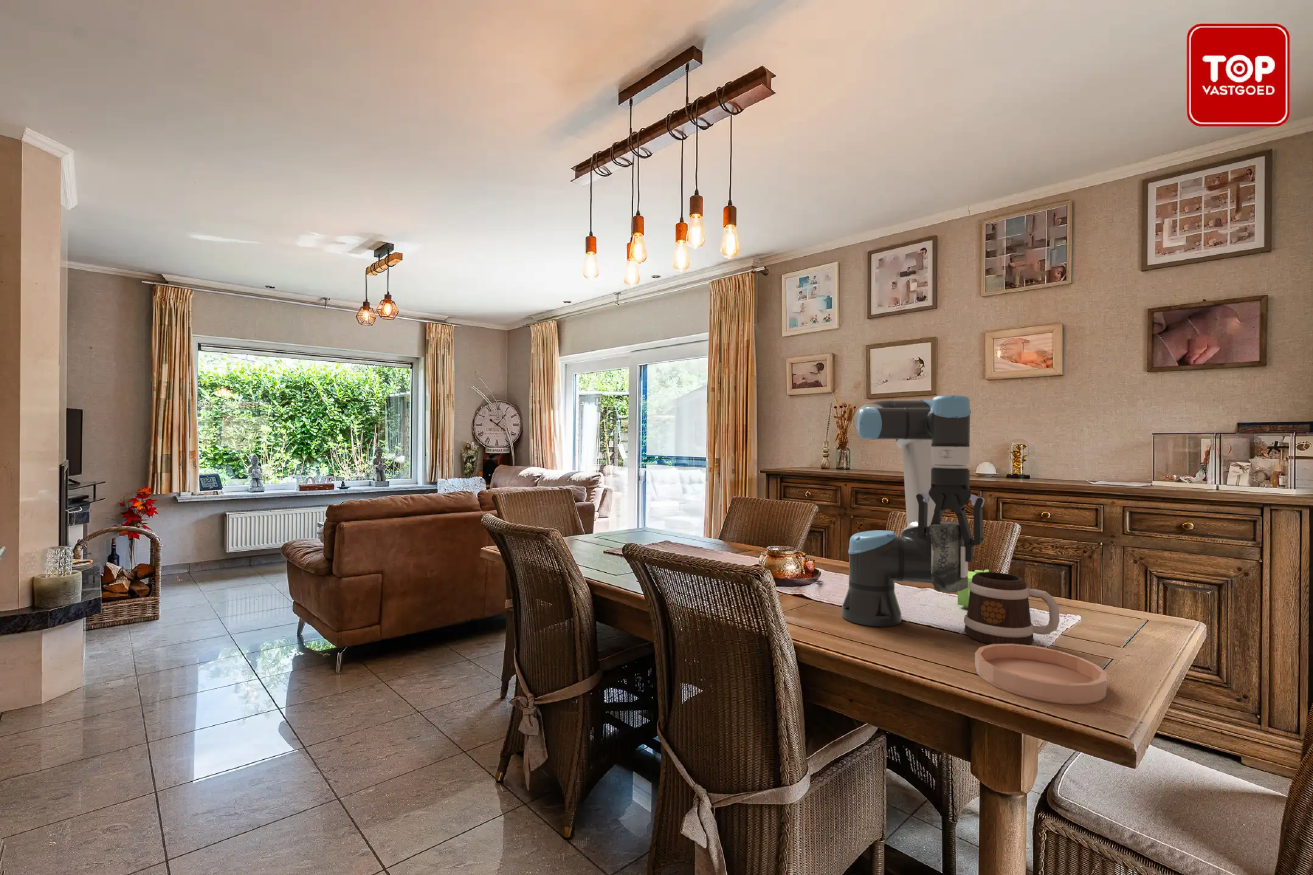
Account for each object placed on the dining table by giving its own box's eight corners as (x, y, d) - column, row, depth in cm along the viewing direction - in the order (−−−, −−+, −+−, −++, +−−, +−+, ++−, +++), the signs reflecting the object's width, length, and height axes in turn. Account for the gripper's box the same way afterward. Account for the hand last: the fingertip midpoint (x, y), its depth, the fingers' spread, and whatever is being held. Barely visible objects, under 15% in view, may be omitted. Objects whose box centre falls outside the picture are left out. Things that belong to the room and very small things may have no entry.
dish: (964, 682, 120) (964, 664, 120) (988, 652, 136) (988, 636, 136) (1102, 715, 105) (1102, 695, 105) (1110, 677, 122) (1110, 660, 122)
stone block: (930, 592, 129) (956, 594, 125) (926, 524, 130) (951, 524, 126) (945, 586, 135) (970, 588, 131) (941, 521, 136) (966, 521, 132)
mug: (958, 640, 145) (959, 577, 145) (968, 624, 157) (968, 566, 157) (1058, 658, 133) (1058, 590, 133) (1060, 639, 146) (1060, 577, 146)
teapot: (970, 615, 165) (970, 576, 165) (940, 602, 178) (940, 566, 178) (1020, 613, 167) (1020, 575, 167) (987, 600, 181) (987, 565, 181)
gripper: (901, 465, 134) (900, 570, 134) (993, 469, 122) (992, 584, 122) (912, 465, 139) (911, 565, 139) (1001, 468, 127) (1000, 578, 127)
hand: (949, 574), depth 130 cm, fingers closed on stone block, 5 cm apart
